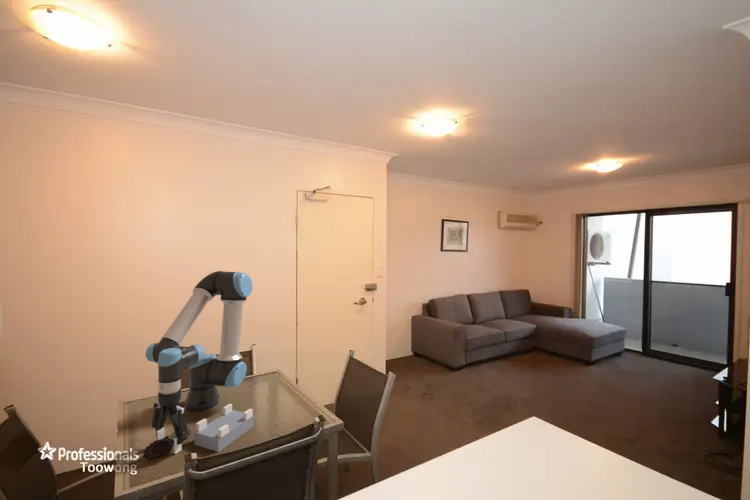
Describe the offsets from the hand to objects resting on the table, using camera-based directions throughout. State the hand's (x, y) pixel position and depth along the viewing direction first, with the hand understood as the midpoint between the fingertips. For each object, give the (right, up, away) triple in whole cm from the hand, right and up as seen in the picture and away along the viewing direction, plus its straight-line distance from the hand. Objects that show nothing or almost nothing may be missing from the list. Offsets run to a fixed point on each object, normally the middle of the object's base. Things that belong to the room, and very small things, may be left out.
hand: (169, 449), depth 135 cm
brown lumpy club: (-1, 0, +1) cm, 1 cm away
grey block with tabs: (+17, 0, +11) cm, 20 cm away
